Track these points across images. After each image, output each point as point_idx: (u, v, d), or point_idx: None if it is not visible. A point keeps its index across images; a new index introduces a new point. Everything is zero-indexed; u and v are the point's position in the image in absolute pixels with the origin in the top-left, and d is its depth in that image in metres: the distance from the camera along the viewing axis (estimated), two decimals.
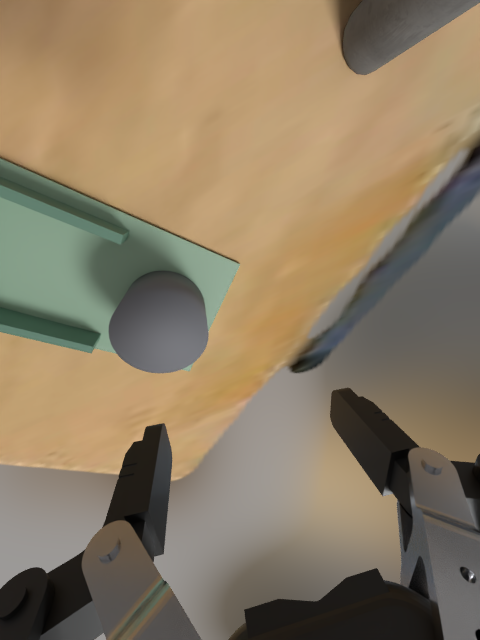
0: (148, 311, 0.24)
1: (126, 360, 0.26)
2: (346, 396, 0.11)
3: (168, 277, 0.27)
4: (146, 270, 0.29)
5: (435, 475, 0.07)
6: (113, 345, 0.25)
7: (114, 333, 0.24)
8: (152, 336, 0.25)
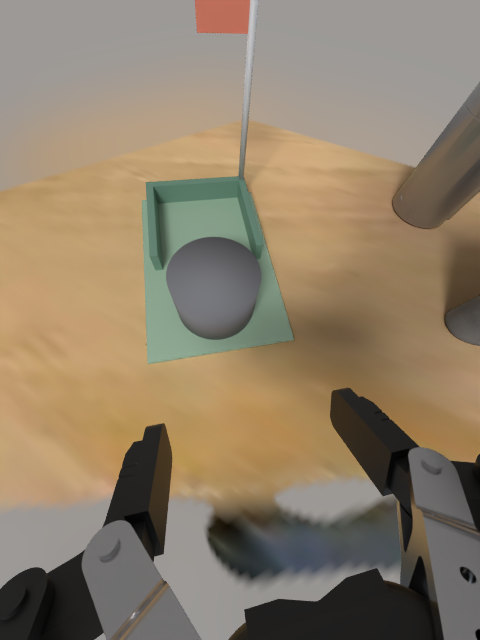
0: (233, 255, 0.26)
1: (172, 259, 0.26)
2: (346, 396, 0.11)
3: None
4: None
5: (435, 475, 0.07)
6: (185, 245, 0.26)
7: (198, 242, 0.27)
8: (209, 267, 0.26)
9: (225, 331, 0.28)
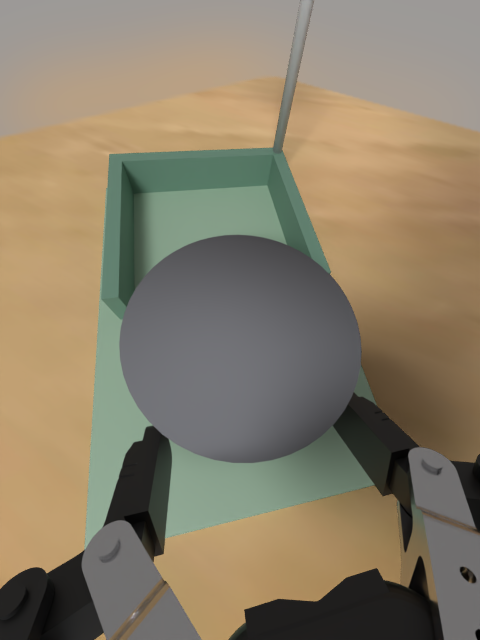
0: (285, 280, 0.11)
1: (141, 288, 0.10)
2: None
3: None
4: None
5: (435, 475, 0.07)
6: (173, 255, 0.11)
7: (203, 248, 0.12)
8: (232, 310, 0.10)
9: None
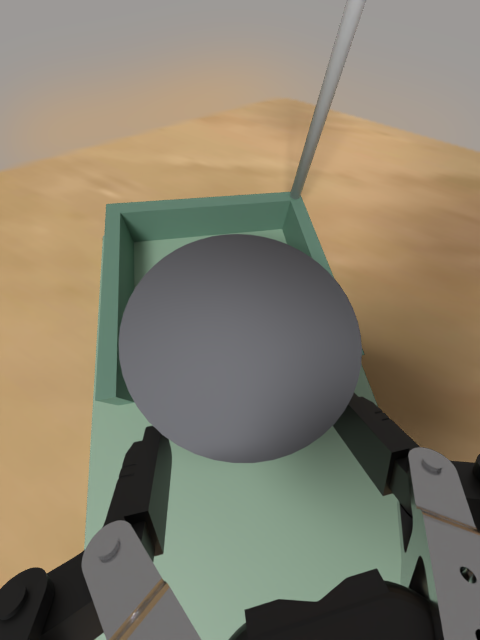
0: (285, 279, 0.11)
1: (140, 288, 0.10)
2: None
3: None
4: None
5: (435, 475, 0.07)
6: (172, 255, 0.11)
7: (202, 248, 0.12)
8: (232, 309, 0.10)
9: None
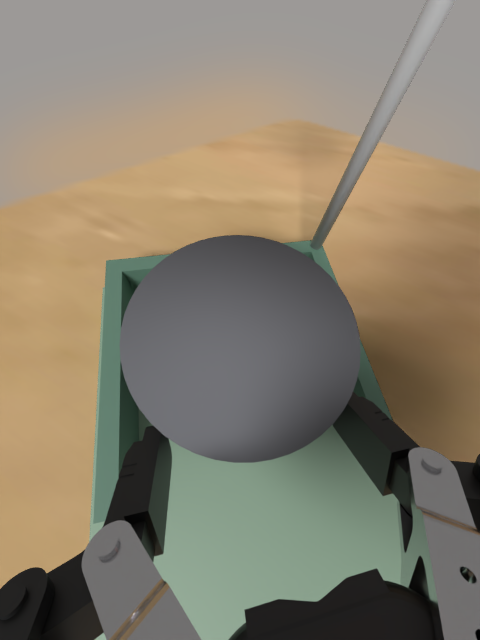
0: (284, 280, 0.11)
1: (140, 290, 0.10)
2: None
3: None
4: (333, 517, 0.13)
5: (435, 475, 0.07)
6: (172, 256, 0.11)
7: (202, 249, 0.12)
8: (231, 310, 0.10)
9: None
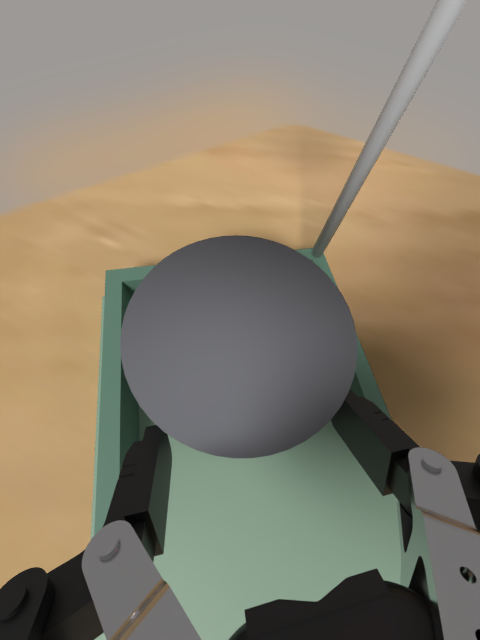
0: (282, 279, 0.11)
1: (140, 290, 0.11)
2: (346, 396, 0.11)
3: None
4: (336, 530, 0.13)
5: (435, 475, 0.07)
6: (171, 256, 0.11)
7: (200, 249, 0.12)
8: (230, 309, 0.11)
9: None
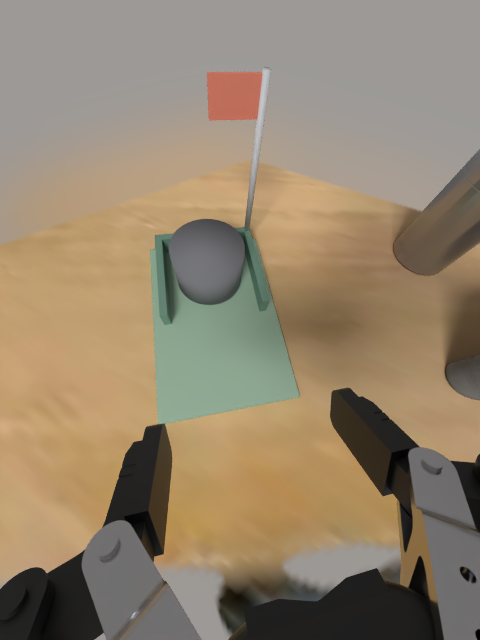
0: (222, 233, 0.33)
1: (173, 236, 0.32)
2: (346, 396, 0.11)
3: None
4: (246, 331, 0.34)
5: (435, 475, 0.07)
6: (183, 226, 0.33)
7: (194, 223, 0.33)
8: (203, 242, 0.32)
9: (217, 296, 0.34)
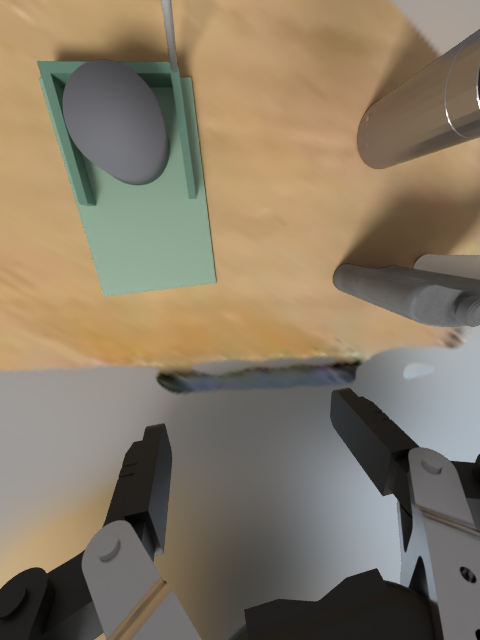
0: (133, 97, 0.25)
1: (65, 93, 0.24)
2: (346, 396, 0.11)
3: None
4: (174, 221, 0.36)
5: (435, 475, 0.07)
6: (76, 72, 0.24)
7: (90, 69, 0.24)
8: (109, 111, 0.25)
9: (140, 181, 0.32)
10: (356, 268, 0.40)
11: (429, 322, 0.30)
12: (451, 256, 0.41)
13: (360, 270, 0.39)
